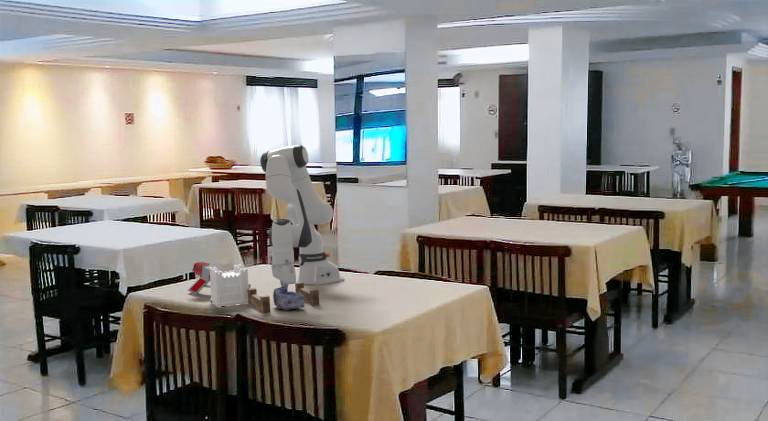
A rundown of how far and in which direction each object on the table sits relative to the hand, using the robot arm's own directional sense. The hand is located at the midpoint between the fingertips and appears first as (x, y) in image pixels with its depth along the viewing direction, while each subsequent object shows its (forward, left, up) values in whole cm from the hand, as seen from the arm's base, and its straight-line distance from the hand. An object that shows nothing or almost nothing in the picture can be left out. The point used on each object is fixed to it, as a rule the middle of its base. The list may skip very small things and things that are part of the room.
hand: (284, 291), depth 326 cm
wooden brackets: (0, -3, -6) cm, 7 cm away
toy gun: (+18, -40, -7) cm, 44 cm away
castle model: (+18, -21, -7) cm, 28 cm away
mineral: (+1, +6, -6) cm, 9 cm away
